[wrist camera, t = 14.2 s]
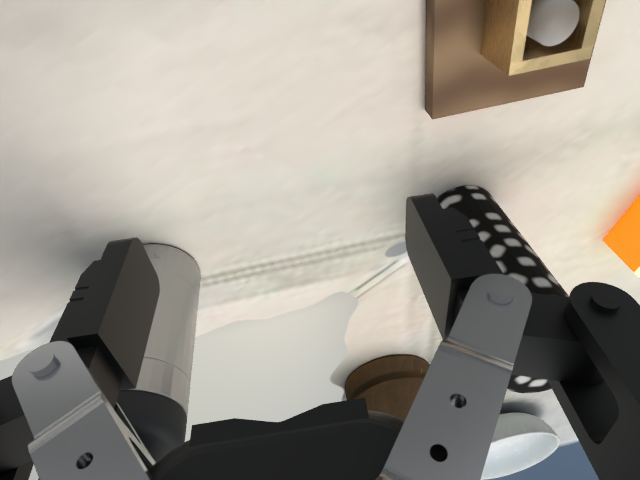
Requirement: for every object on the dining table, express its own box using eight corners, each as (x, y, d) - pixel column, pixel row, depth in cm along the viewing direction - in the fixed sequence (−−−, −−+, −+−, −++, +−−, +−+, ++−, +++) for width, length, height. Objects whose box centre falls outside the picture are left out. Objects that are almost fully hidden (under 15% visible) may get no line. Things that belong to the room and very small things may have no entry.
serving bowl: (477, 454, 99) (490, 486, 94) (424, 435, 88) (435, 470, 83) (558, 414, 91) (577, 447, 85) (511, 387, 80) (530, 423, 74)
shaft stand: (570, 78, 40) (620, 110, 35) (425, 110, 40) (453, 145, 35) (624, -149, 30) (707, -153, 24) (426, -107, 29) (467, -102, 24)
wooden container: (350, 410, 76) (380, 558, 60) (338, 366, 66) (370, 529, 50) (431, 391, 76) (484, 535, 60) (431, 345, 66) (494, 501, 50)
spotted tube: (505, 186, 48) (626, 331, 33) (477, 243, 53) (570, 390, 38) (436, 183, 46) (530, 334, 31) (414, 242, 51) (486, 395, 36)
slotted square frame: (553, 38, 35) (590, 58, 32) (480, 54, 35) (508, 76, 32) (570, -50, 31) (615, -40, 27) (488, -33, 31) (521, -20, 27)
